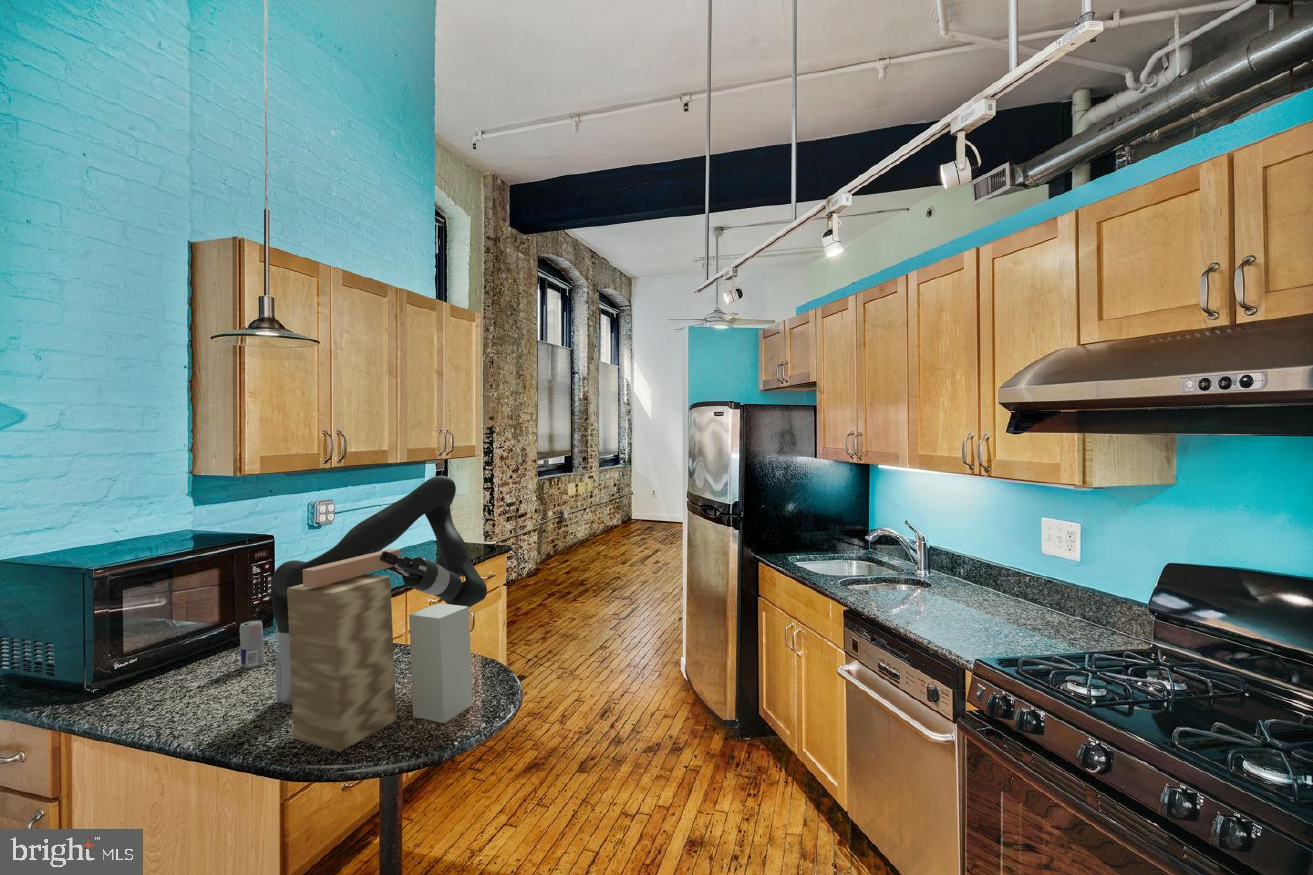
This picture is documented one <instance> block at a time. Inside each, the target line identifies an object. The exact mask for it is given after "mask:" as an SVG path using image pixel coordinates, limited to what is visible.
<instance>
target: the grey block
mask: <svg viewBox="0 0 1313 875" xmlns="http://www.w3.org/2000/svg"><path fill="white" fill-rule="evenodd" d="M469 609H470V608H469V607H468V606H459V605H450V604H447V603H436V604H433V605H431V606H428V607H425V608H423V609H421V610H417V611H414V612H411V613H410V614H409V615H408V621H409V623H408V624H409V646H410V647H409V648H410V669H411V670H410V671H411V686H412V687H411V690H412V692H411V693H412V708H413V709H412V711H413V712H412V714H413V717H414V718H418V719H422V718H423V720H427V719H429V720H428V721H431V720H432V722H437V723H442V724H445V723H448V722H449V721H451V720H452V719H453V718H456V716H458V715H459V714H461V713H463V712H465V711H466V710H468V709H469V708H470V707H473V705H474V702H473V700H474V699H473V679H472V659H471V658H472V657H471V634H470V633H471V632H470V630H471V629H470V615H469V614H470V613H469V612H470V611H469Z"/></svg>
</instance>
